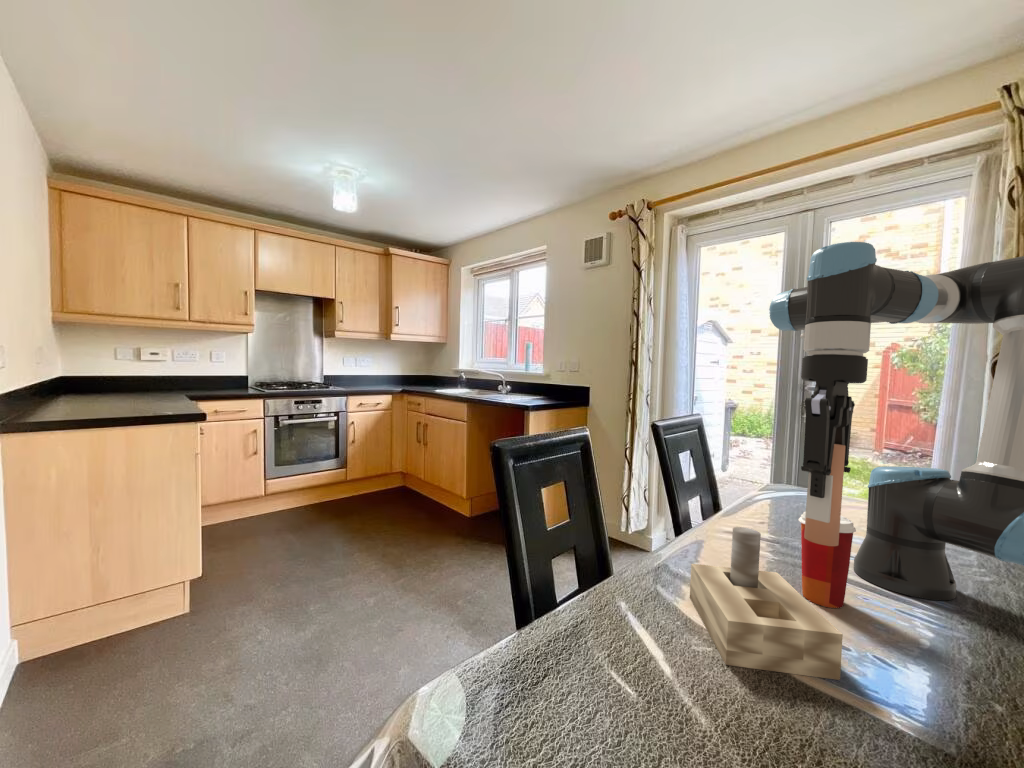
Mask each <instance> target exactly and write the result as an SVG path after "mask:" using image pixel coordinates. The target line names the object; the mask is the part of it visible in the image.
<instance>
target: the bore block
mask: <svg viewBox="0 0 1024 768" xmlns="http://www.w3.org/2000/svg"><path fill="white" fill-rule="evenodd" d="M761 535H762V534H761V532H760V531H758V530H755V529H753V528H749V527H744V526H743V527H742V526H736V527H733V528H732V536H731V537H732V538H731V555H730V567H727V566H717V565H708V564H698V563H691V565H690V567H691V568H690V584H689V585H690V586H689V598H690V601H691V603H692V605H693V606H694V608H695V610H696V612H697V614H698V616H699V617H700V619H701V621H702V623H703V625H704V626H705V629H706V631H707V632H708V634H709V636H710V638H711V640H712V642H713V644H714V645H715V648H716V649H717V651H718V652H719V655H720V657H721V658H722V661H723V662H724V664H725V666H733V667H740V668H748V669H755V670H761V671H762V670H764V671H770V672H778V673H786V674H791V675H799V676H805V677H806V676H808V677H813V678H814V677H815V678H821V679H827V680H828V679H830V680H837V681H840V680H841V673H842V672H841V669H842V666H841V665H842V654H843V653H842V651H843V633H842V632H841V631H840V630H838V629H837V628H836V627H835V625H833V624H832V623H831V622H830V621H829V620H828V619H827V618H826V617H825V616H824V615H823V614H822V613H820V612H819V610H817V609H816V608H815V607H814V605H812V604H811V602H810V601H809V600H807V599H806V598H805V597H804V596H803V595H802V594H801V593H799V591H797V590H796V589H795V588H794V587H793V586H792V585H791V584H790V583H789V582H788V581H787V580H786V579H785V578H783V576H781V575H780V574H779V573H778V572H775V571H766V570H760V553H761V552H760V551H761Z"/></svg>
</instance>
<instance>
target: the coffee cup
mask: <svg viewBox="0 0 1024 768" xmlns="http://www.w3.org/2000/svg"><path fill="white" fill-rule="evenodd" d="M805 516H806V510H805V511H803V513H802V514H800V517H799V518H798V522H800V525H801V526H800V528H801V529H800V532H801V534H800V535H801V536H800V537H801V541H800V542H801V552H800V553H801V593H802V597H804V598H805V599H806V600H807V601H808V602H809V603H812V604H815V605H818V606H821V607H824V608H828V609H842V608H843V606H844V603H845V597H846V589H847V583H848V578H849V577H848V576H849V570H850V562H851V555H852V545H853V537H854V533H856V532H857V530H856V527H854V522H853V521H852V520H850V519H849V518H848V517H846V516H843V515H841V517H840V531H839V545H838V546H826V545H821V544H817V543H814V542H811V541H808V540H807V539H805V538H804V533H805V519H806V517H805Z"/></svg>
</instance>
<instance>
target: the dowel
mask: <svg viewBox="0 0 1024 768" xmlns="http://www.w3.org/2000/svg"><path fill="white" fill-rule="evenodd" d="M845 447H846V446H845V445H840V444H834V450H833V457H832V465H831V473H830V475H833V486H832V500H831V514H830V522H829V523H826V522H822V521H818V520H814V519H810V518H806V519H805V533H804V538H805V539H807V540H808V541H811V542H814V543H817V544H821V545H826V546H838V545H839V531H840V517H841V516H842V500H843V488H844V474H845V472H844V461H845Z"/></svg>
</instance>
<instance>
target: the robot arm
mask: <svg viewBox="0 0 1024 768" xmlns="http://www.w3.org/2000/svg"><path fill="white" fill-rule="evenodd" d="M876 254H877V253H876V248H875V247H874V245H873V244H871V243H869V242H864V241H846V242H845V241H844V242H838V243H833V244H829V245H826V246H822V247H821V248H819V249H817V250H815V251H814V252H813V253H812V255H811V257H810V261H809V268H808V275H807V277H806V281H807V286H805V287H799V288H791V289H790V290H786V291H783V292H780V293H777V294H776V295H775V296H774V297H773V298H772V299H771V301H770V305H769V309H768V310H769V318H770V322H771V323H772V324H773V326H774V328H776V329H778V330H780V331H784V332H787V331H788V332H791V331H792V332H800V331H804V332H801V334H800V335H799V336H800V339H801V340H803V351H804V352H805V353H807V355H805V356H803V357H802V358H801V359H802V360H801V373H800V374H801V375H800V376H801V379H802V381H805V382H811V383H812V382H814V383H815V386H814V390H813V394H811V396H810V397H805V400H804V408H805V410H804V411H805V425H804V441H803V443H804V445H803V462H802V466H801V467H800V469H801V471H802V472H806V473H808V475H807V476H808V477H807V489H806V490H807V491H806V502H805V503H806V504H805V511H806V516H805V517H806V518H810V519H814V520H818V521H822V522H826V523H829V522H830V514H831V500H832V486H833V475H830V473H831V465H832V457H833V450H834V444H840V445H845V446H846V447H845V461H844V473H847V474H850V473H851V467H848V466H849V456H850V447H851V445H850V443H851V433H852V422H853V421H852V420H853V413H854V409H855V408H854V407H855V405H856V404H855V401H854V400H853V399H852V396H849V387H848V386H849V384H864V383H865V382H867V379H868V363H869V359H868V358H867V356H865V355H864V354H866V353H868V352H869V351H870V344H871V329H872V328H871V327H872V326H871V325H872V324H879V323H889V324H890V325H891V324H892V325H893V324H894V325H895V324H896V325H897V324H911V323H919V324H966V325H967V324H969V325H970V324H972V325H973V324H975V325H978V324H992V328H993V329H994V330H995V331H997V332H998V333H999V334H1000V335H1002V338H1001V343H1000V348H999V354H998V358H997V363H996V369H995V372H994V377H993V380H992V381H993V382H992V386H991V391H990V395H989V399H988V400H989V401H988V404H987V405H988V406H987V410H986V415H985V418H984V424H983V427H982V434H981V437H980V442H979V443H980V444H979V447H978V452H977V456H976V462H975V463H974V464H973V465H970V466H968V467H965V468H963V469H961V473H960V476H959V480H956V479H955V480H954V479H952V475H951V474H950V471H949V470H947V469H941V468H934V467H932V468H931V467H917V466H890V465H888V466H877V467H874V468H873V469H872V470H871V471H870V475H869V480H868V485H867V488H868V492H867V493H868V496H867V515H866V533H865V536H864V539H863V540H862V543H861V544H860V547H859V549H858V551H857V553H856V555H855V556H854V559H853V568H852V569H853V571H854V573H855V574H856V575H858V576H859V577H860V578H862V579H864V580H865V581H866V582H869V583H871V584H874V585H876V586H878V587H880V588H884V589H886V590H889V591H892V592H896V593H899V594H903V595H906V596H911V597H915V598H920V599H925V600H931V601H949V600H950V601H951V600H954V599H955V598H957V597H956V596H957V583H956V580H955V577H954V574H953V572H952V571H953V570H952V569H951V566H950V563H949V560H948V557H947V555H946V544H948V545H951V546H954V547H958V548H962V549H965V550H968V551H972V552H974V553H977V554H980V555H985V556H987V557H991V558H994V559H997V560H999V561H1001V562H1005V563H1009V564H1010V563H1012V564H1016V565H1019V566H1023V567H1024V255H1023V256H1017V257H1012V258H1007V259H1002V260H995V261H990V262H984V263H983V262H981V263H979V264H978V263H977V264H974V265H970V266H965V267H962V268H958V269H954V270H950V271H946V272H941V273H936V274H935V273H934V274H927V275H922V274H918V273H916V271H915V272H914V271H912V270H911V271H910V270H900V269H894V268H889V267H884V266H880V265H878V264H876V263H877V262H878V261H877V260H878V258H877V255H876Z"/></svg>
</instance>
